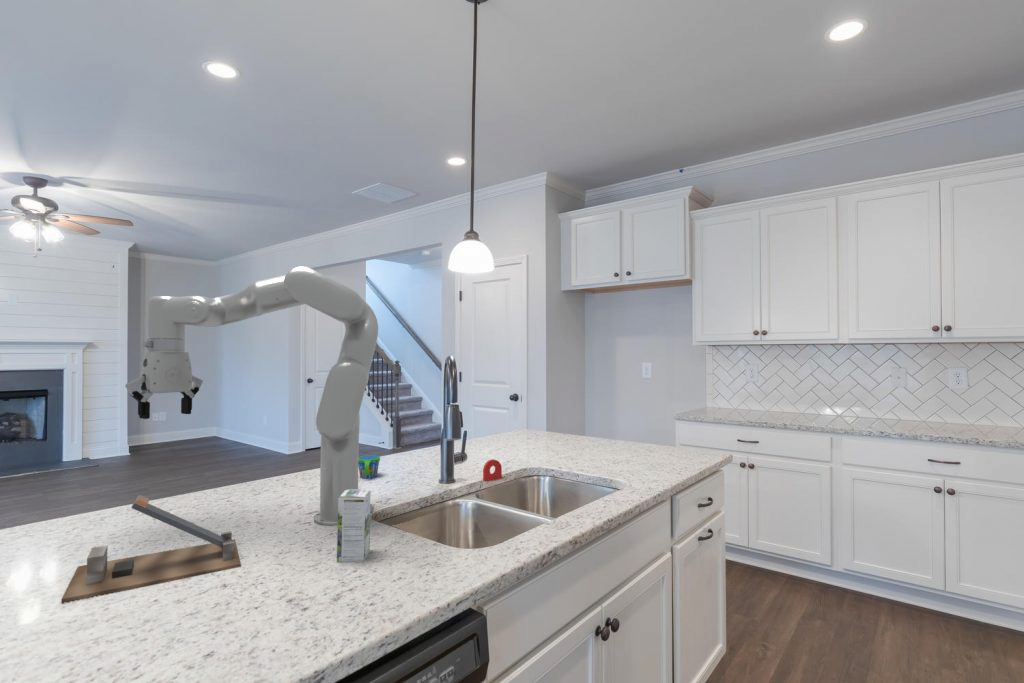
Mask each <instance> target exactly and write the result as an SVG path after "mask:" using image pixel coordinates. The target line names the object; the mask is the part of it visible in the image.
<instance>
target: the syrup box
mask: <svg viewBox="0 0 1024 683" xmlns="http://www.w3.org/2000/svg"><path fill="white" fill-rule="evenodd" d="M371 493H372V492H371V490H370V489H363V488H362V489H361V488H358V489H350V490H345V491H344V492H343V493H342V495H341V496H340V497H339V498H338V526H337V530H336V531H337V532H336V533H337V534H336V535H337V539H336V540H337V541H336V542H337V543H336V563H345V562H347V563H348V562H364V561H365V560H366V558H367V556H368V554H369V552H370V540H371V539H370V537H371V536H370V534H371V533H370V532H371V514H370V504H371V495H372V494H371Z"/></svg>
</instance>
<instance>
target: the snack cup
mask: <svg viewBox="0 0 1024 683" xmlns="http://www.w3.org/2000/svg"><path fill="white" fill-rule="evenodd" d="M380 460H381V457H380V456H379V455H373V454H372V455H362V456H359V459H358V474H359V478H360V479H361V478H362V480H371V479H375V478H377V477H378V471H379V466H380V465H379V464H380Z"/></svg>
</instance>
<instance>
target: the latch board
mask: <svg viewBox="0 0 1024 683" xmlns="http://www.w3.org/2000/svg"><path fill="white" fill-rule="evenodd" d="M232 533H233V532H232V531H224V532H221V533H220V536H222V537H224V538H225V537H230V539H231V541H232V542H226V543H223V548H222V547H219V546H217V545H215V544H212V543H210V542H209V543H205V544H199V545H195V546H188V547H182V548H176V549H169V550H164V551H158V552H153V553H148V554H142V555H136V556H135V555H134V556H129V557H123V558H119V559H118V558H117V559H114V560H108V546H109V545H101V546H96V547H91V549H90V551H89V554H88V556H87V558H86V564H84V565H78V566H77V567H76V569H75V571H74V574H73V575H72V578H71V579H70V581H69V582H68V586H67V588H66V589H65V592H64V593H63V595H62V597H61V603H62V604H65V603H64V602H67V603H71V602H70V601H72V602H76V601H75V600H77V601H80V599H82V600H86V599H91V598H95V597H94V596H96V597H99V596H98V595H101V596H105V595H104V594H106V595H110V594H109V593H111V594H115V593H118V592H119V593H121V592H124V591H129V590H134V589H139V588H144V587H149V586H154V585H157V584H164V583H169V582H173V581H177V580H182V579H188V578H192V577H196V576H201V575H205V574H207V575H208V574H211V573H216V572H221V571H225V570H230V569H235V568H240V567H242V563H241V558H240V555H239V550H238V546H237V545H238V544H237V540H236V539H234V538H233V537H232V535H233V534H232ZM114 592H115V593H114ZM90 597H91V598H90ZM85 598H86V599H85ZM61 603H60V604H61Z"/></svg>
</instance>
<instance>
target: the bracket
mask: <svg viewBox="0 0 1024 683" xmlns="http://www.w3.org/2000/svg"><path fill="white" fill-rule="evenodd" d="M492 467H494V471H493V473H491V468H492ZM502 470H503V468H502V464H501V462H500V461H499V460H497V459H493V458H492V459H489V460H487V461H486V462H485V464H484V465H483V469H482V473H483V474H482V481H483V482H489V481H495V480H499V479H503V476H502V475H503V474H502V472H503V471H502Z"/></svg>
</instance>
